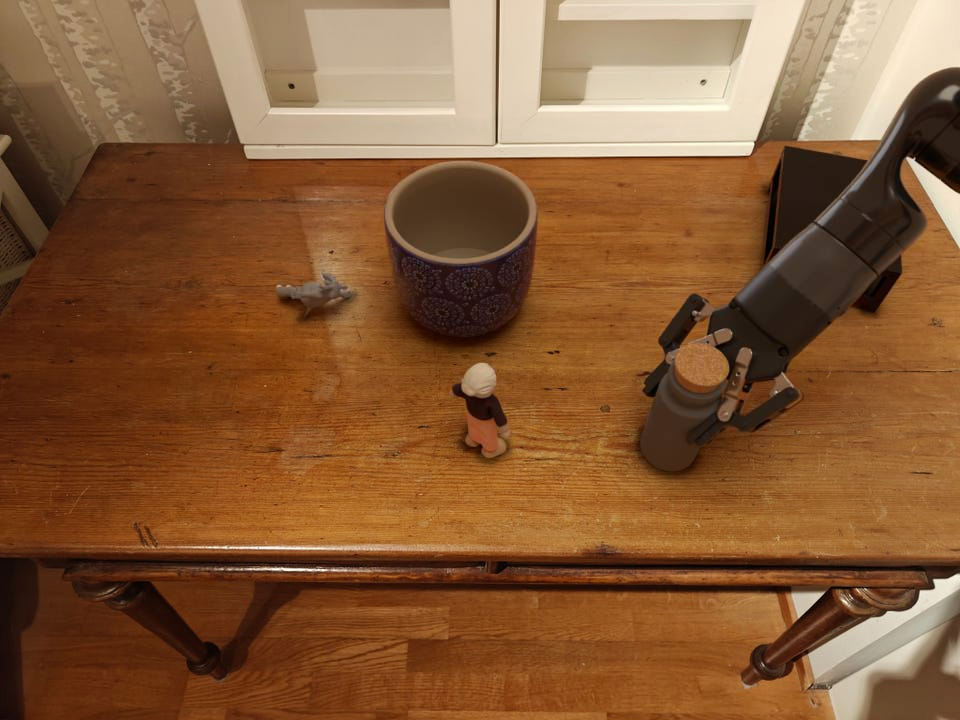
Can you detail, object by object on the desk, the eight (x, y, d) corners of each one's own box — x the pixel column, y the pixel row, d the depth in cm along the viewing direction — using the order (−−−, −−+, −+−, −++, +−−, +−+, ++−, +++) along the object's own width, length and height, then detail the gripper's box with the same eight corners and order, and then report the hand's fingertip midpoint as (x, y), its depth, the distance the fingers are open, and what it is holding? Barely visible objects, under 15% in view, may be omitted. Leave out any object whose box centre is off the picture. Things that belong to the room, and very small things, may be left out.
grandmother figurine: (521, 441, 74) (527, 372, 64) (504, 469, 72) (506, 402, 62) (460, 410, 77) (455, 339, 66) (441, 437, 75) (434, 367, 64)
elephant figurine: (313, 268, 90) (366, 270, 85) (312, 314, 91) (366, 319, 86) (250, 266, 81) (306, 269, 77) (250, 317, 82) (306, 323, 77)
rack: (872, 206, 96) (897, 165, 90) (874, 313, 84) (902, 273, 79) (767, 187, 98) (784, 145, 93) (755, 287, 87) (774, 247, 81)
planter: (534, 354, 81) (543, 263, 69) (392, 355, 81) (376, 265, 69) (528, 252, 91) (534, 158, 79) (401, 253, 91) (388, 159, 79)
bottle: (636, 465, 72) (666, 383, 60) (642, 419, 76) (671, 332, 64) (694, 477, 72) (735, 396, 59) (697, 429, 75) (737, 343, 63)
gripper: (732, 227, 62) (605, 362, 68) (859, 337, 55) (704, 476, 61) (758, 249, 68) (639, 371, 74) (876, 350, 60) (733, 477, 67)
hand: (669, 418), depth 67 cm, fingers closed on bottle, 6 cm apart
